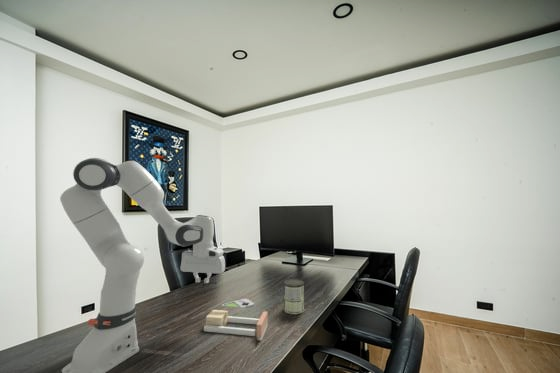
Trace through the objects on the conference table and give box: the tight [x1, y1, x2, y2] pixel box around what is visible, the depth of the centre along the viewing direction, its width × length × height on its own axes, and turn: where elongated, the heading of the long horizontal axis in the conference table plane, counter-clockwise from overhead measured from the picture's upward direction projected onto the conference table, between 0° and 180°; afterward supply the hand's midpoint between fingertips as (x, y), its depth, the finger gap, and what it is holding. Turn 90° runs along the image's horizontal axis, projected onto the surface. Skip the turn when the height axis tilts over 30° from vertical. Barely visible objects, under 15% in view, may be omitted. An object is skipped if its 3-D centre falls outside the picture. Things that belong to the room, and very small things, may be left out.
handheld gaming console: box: [221, 298, 255, 309], centre depth 127 cm, size 10×2×15 cm
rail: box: [201, 310, 269, 341], centre depth 103 cm, size 12×26×6 cm, turn 81°
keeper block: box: [205, 309, 229, 327], centre depth 104 cm, size 7×7×5 cm
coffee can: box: [283, 278, 305, 315], centre depth 123 cm, size 10×10×14 cm
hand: (202, 282), depth 106 cm, fingers open, 3 cm apart
